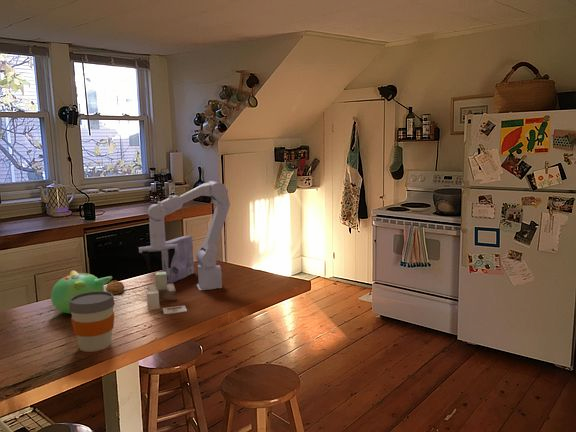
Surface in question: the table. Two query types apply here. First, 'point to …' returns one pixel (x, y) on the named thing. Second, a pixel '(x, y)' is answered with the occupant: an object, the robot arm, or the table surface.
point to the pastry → (115, 287)
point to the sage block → (161, 280)
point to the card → (174, 309)
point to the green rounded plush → (75, 288)
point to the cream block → (153, 299)
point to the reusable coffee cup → (92, 319)
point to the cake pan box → (179, 259)
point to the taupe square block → (165, 292)
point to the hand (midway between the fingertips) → (159, 268)
